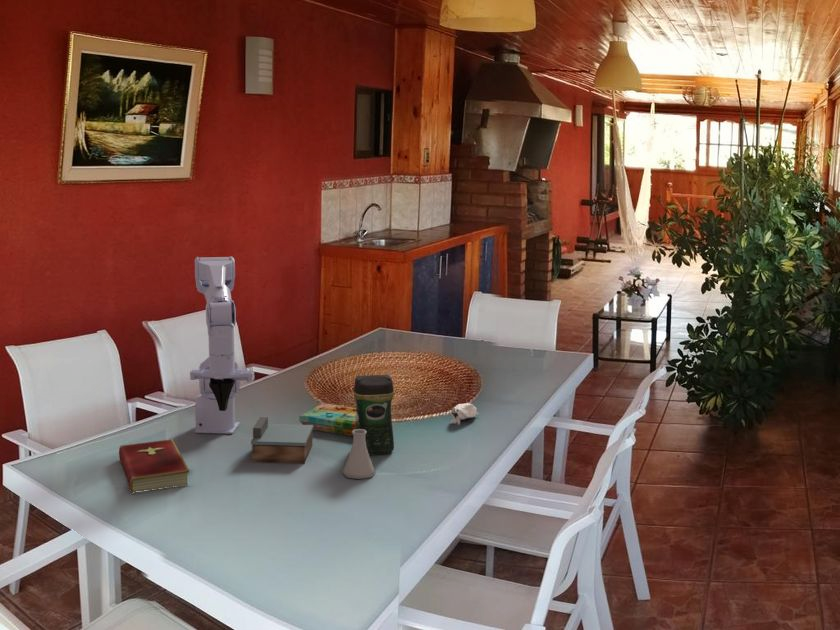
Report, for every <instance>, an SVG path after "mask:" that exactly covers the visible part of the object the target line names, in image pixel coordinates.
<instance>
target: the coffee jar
mask: <svg viewBox="0 0 840 630" xmlns="http://www.w3.org/2000/svg"><path fill="white" fill-rule="evenodd" d="M394 394H395V389H394V382H393V379H392V376H391V375H389V374H368V375H357V376H355V380H354V386H353V398H354V399H355V405H356V406H355V408H356V424H355V429H364V430H366V431H367V433H366V435H365V441H366V447H367V450H368V453H369V456H371V455H372V456H373V455H382V454H389V453H392V451H393V450H394V448H395V440H394V430H393V418H392V400H393V398H394Z"/></svg>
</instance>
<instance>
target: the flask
mask: <svg viewBox="0 0 840 630" xmlns="http://www.w3.org/2000/svg"><path fill="white" fill-rule="evenodd" d="M366 433H367V431H366V430H364V429H355V430H353V431H352V434H353V436H352V437H353V439H352V444H351V445H352V446H351V448H350V453H349V454H348V457H347V460H346V463H345V465H344V468H343V471H342V474H344V476H345V477H346V478H348V479H355V480H362V479H369V478H373V476H374V475H375V474H376V471H375V468H374V465H373V462H372V459H371V457H370V456H371V455H369V453H368V450H367V447H366V441H365V435H366Z"/></svg>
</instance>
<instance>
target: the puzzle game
mask: <svg viewBox="0 0 840 630" xmlns="http://www.w3.org/2000/svg"><path fill="white" fill-rule="evenodd" d="M298 421H299V422H300V423H301V425H313V430H312V431H314V430H315V431H319V432H325V433H326V432H327V433H332V434H338V435H345V436H350V437H353V434H352V431H353V430H355V424H356V407H350V406H346V405H344V404H342V405H338V404H331V403H326V402H324V403H321V404H319V405H317V406H315V407H314V408H312V409H310V410H308V411H307V412H304V413H302V414H301V415H299V420H298Z"/></svg>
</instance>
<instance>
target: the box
mask: <svg viewBox="0 0 840 630" xmlns="http://www.w3.org/2000/svg"><path fill="white" fill-rule="evenodd" d="M312 447H313V431H312V432H311V435H310V437H309V439H308V441H307V443H306V446H283V445H251V452H252V453H251V455H252V458H251V460H252V463H265V464H266V463H270V464H271V463H272V464H273V463H275V464H276V463H277V464H300V465H301V464H305V463H306V462H307V459H308V457H309V455H310V452H311V449H312Z"/></svg>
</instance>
